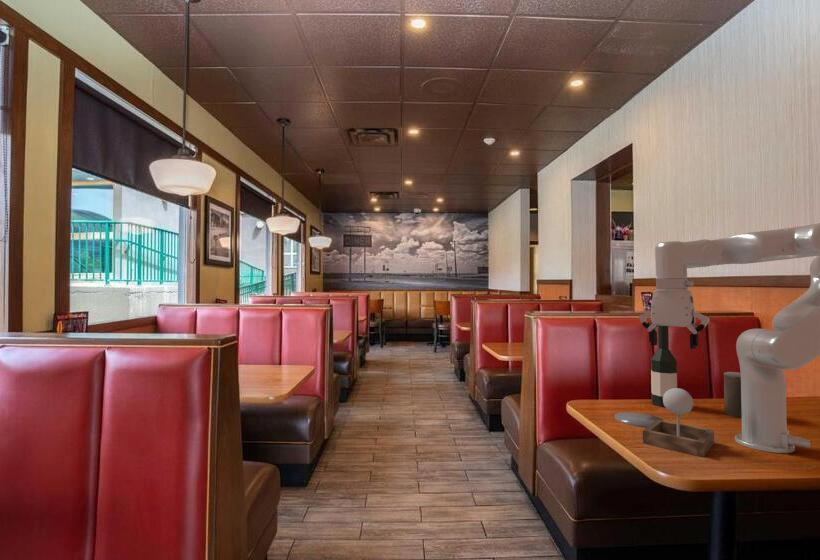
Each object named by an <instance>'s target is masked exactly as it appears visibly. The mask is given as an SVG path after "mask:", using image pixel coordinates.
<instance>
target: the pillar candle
mask: <svg viewBox="0 0 820 560" xmlns="http://www.w3.org/2000/svg"><path fill="white" fill-rule="evenodd" d="M723 396H724V397H723V398H724V399H723V402H724V403H723V412H724V414H726V415H727V416H729V417H734V418H738V419H742V412H741V372H739V371H737V372H735V371H726V372H723Z"/></svg>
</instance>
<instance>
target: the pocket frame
mask: <svg viewBox="0 0 820 560" xmlns="http://www.w3.org/2000/svg"><path fill="white" fill-rule="evenodd" d="M714 443H715V430H714V429H709V428H705V427H698V426H694V425H688V424H683V423H680V436H677V422H672V421H667V420H663V419H662V420H658V419H657V420H656V421H654V422H653V423H652V424H650V425H649V426H648V427H644V429H643V430H642V444H645V445H650V446H654V447H658V448H663V449H666V450H670V451H674V452H675V451H676V452H680V453H684V454H688V455H692V456H698V457H701V458H704V457H705V456H706V455H707V453H708V452H709V450H710V449H711V448H712V446H713V445H714Z"/></svg>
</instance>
